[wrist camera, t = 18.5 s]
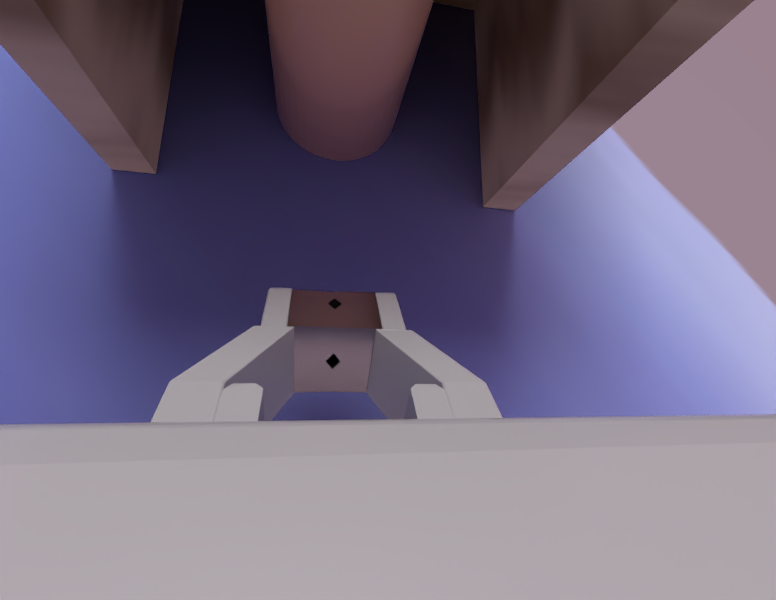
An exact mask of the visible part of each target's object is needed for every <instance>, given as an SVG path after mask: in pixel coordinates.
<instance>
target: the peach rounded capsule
mask: <svg viewBox="0 0 776 600" xmlns="http://www.w3.org/2000/svg"><path fill="white" fill-rule="evenodd" d="M433 1H434V0H265V6H266V15H267V24H268V33H269V42H270V50H271V59H272V68H273V77H274V86H275V94H276V103H277V110H278V115H279V118H280V121H281V123H282V125H283V127H284V129H285V131H286V132H287V134H288V135H289V136H290V137H291V138H292V139H293V141H295V142H296V143H297V144H298V145H299V146H300V147H302V148H303V149H305V150H306V151H308V152H310V153H312V154H314V155H316V156H319V157H322V158H326V159H330V160H336V161H349V160H356V159H360V158H363V157H366V156H368V155H370V154H372V153H374V152H375V151H377V150H378V149H379V148H380V147H381V146H383V145H384V143H385V142H386V141H387V140H388V138H389V136H390V134H391V132H392V130H393V127H394V124H395V121H396V117H397V114H398V111H399V108H400V105H401V102H402V99H403V95H404V92H405V89H406V86H407V83H408V80H409V76H410V73H411V70H412V67H413V64H414V61H415V58H416V54H417V51H418V48H419V45H420V42H421V39H422V35H423V32H424V29H425V26H426V23H427V20H428V17H429V13H430V10H431V7H432V4H433Z"/></svg>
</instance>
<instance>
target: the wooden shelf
mask: <svg viewBox="0 0 776 600" xmlns="http://www.w3.org/2000/svg"><path fill="white" fill-rule="evenodd" d="M753 1H754V0H434V1H433V2H434V3H439V4H444V5H450V6H455V7H460V8H465V9H470V10H474V22H475V43H476V64H477V86H478V107H479V129H480V150H481V171H482V193H483V207H487V208H496V209H506V210H516V209H517V208H519V207H520V206H521V205H522V204H523V203H524V202H525V201H527V200H528V199H529V198H530V197H531V196H532V195H533V194H534V193H536V192H537V191H538V190H539V189H540V188H541V187H542V186H544V185H545V184H546V183H547V182H548V181H549V180H550V179H552V178H553V177H554V176H555V175H556V174H557V173H558V172H559V171H561V170H562V169H563V168H564V167H565V166H566V165H567V164H569V163H570V162H571V161H572V160H573V159H574V158H575V157H577V156H578V155H579V154H580V153H581V152H582V151H583V150H584V149H586V148H587V147H588V146H589V145H590V144H591V143H592V142H594V141H595V140H596V139H597V138H598V137H599V136H600V135H602V134H603V133H604V132H605V131H606V130H607V129H608V128H609V127H611V126H612V125H613V124H614V123H615V122H616V121H617V120H618V119H620V118H621V117H622V116H623V115H624V114H625V113H626V112H628V111H629V110H630V109H631V108H632V107H633V106H634V105H636V104H637V103H638V102H639V101H640V100H641V99H642V98H643V97H645V96H646V95H647V94H648V93H649V92H650V91H651V90H653V89H654V88H655V87H656V86H657V85H658V84H659V83H661V82H662V81H663V80H664V79H665V78H666V77H667V76H669V74H671V73H672V72H673V71H674V70H675V69H677V68H678V67H679V66H680V65H681V64H682V63H683V62H684V61H686V60H687V59H688V58H689V57H690V56H691V55H692V54H694V53H695V52H696V51H697V50H698V49H699V48H700V47H702V46H703V45H704V44H705V43H706V42H707V41H708V40H709V39H711V38H712V37H713V36H714V35H715V34H716V33H717V32H718V31H720V30H721V29H722V28H723V27H724V26H725V25H727V24H728V23H729V22H730V21H731V20H732V19H733V18H734V17H735V16H737V15H738V14H739V13H740V12H741V11H742V10H744V9H745V8H746V7H747V6H748V5H749V4H750V3H752V2H753ZM182 6H183V0H0V45H1V46H2V47H3V48H4V49H5V50H6V51H7V52H8V54H9V55H10V56H11V57H12V58H13V59H14V60H15V61H16V63H17V64H18V65H19V66H20V67H21V68H22V69H23V70H24V72H25V73H26V74H27V75H28V76H29V77H30V78H31V79H32V81H33V82H34V83H35V84H36V85H37V86H38V87H39V88H40V90H41V91H42V92H43V93H44V94H45V95H46V96H47V97H48V99H49V100H50V101H51V102H52V103H53V104H54V105H55V106H56V108H57V109H58V110H59V111H60V112H61V113H62V114H63V115H64V117H65V118H66V119H67V120H68V121H69V122H70V123H71V124H72V126H73V127H74V128H75V129H76V130H77V131H78V132H79V133H80V135H81V136H82V137H83V138H84V139H85V140H86V141H87V142H88V144H89V145H90V146H91V147H92V148H93V149H94V150H95V151H96V153H97V154H98V155H99V156H100V157H101V158H102V159H103V160H104V162H105V163H106V164H107V165H108V166H109V167H110V168H111V169H112V170H122V171H132V172H142V173H152V174H156V171H157V165H158V158H159V152H160V146H161V139H162V133H163V127H164V120H165V114H166V107H167V101H168V95H169V88H170V82H171V76H172V69H173V63H174V57H175V50H176V44H177V37H178V31H179V25H180V18H181V12H182Z"/></svg>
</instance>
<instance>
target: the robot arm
mask: <svg viewBox="0 0 776 600" xmlns="http://www.w3.org/2000/svg"><path fill="white" fill-rule="evenodd" d="M329 391H331V392H367V395H368V396H369V397H370V399H371V400H372V401H373V402H374V403H375V405H376V406H377V407H378V408H379V409H380V411H381V412H382V413H383V414H384V416H385V417H386V418H387V419H377V420H299V421H272V419H273V418H274V417H275V416H276V415H277V413H278V412H279V411H280V410H281V409H282V407H283V406H284V405H285V404H286V403H287V401H288V400H289V399H290V398H291V397H292V395H293V392H329ZM0 600H776V414H761V415H685V416H607V417H528V418H502V415H501V413H500V411H499V409H498V407H497V405H496V403H495V401H494V399H493V397H492V394H491V392H490V390H489V388H488V386H487V384H486V383H485V382H484V381H482V380H481V379H480V378H478V377H477V376H475V375H474V374H473V373H471V372H470V371H468V370H467V369H466V368H464V367H463V366H461V365H460V364H459V363H457V362H456V361H454V360H453V359H452V358H450V357H449V356H447V355H446V354H445V353H443V352H442V351H440V350H439V349H438V348H436V347H435V346H433V345H432V344H431V343H429V342H428V341H426V340H425V339H424V338H422V337H421V336H419V335H418V334H417V333H415V332H414V331H412V330H406V327H405V324H404V320H403V317H402V314H401V310H400V307H399V303H398V300H397V297H396V294H395V293H375V292H335V291H325V290H309V289H294V288H293V289H291V288H274V287H271V288H270V289H269V290H268V295H267V299H266V303H265V308H264V312H263V316H262V321H261V325H260V326H253V327H251V328H250V329H248V330H247V331H245V332H244V333H242V334H241V335H239V336H238V337H236V338H234V339H233V340H231V341H230V342H228V343H227V344H225V345H224V346H222V347H221V348H219V349H218V350H216V351H215V352H213V353H212V354H210V355H209V356H207V357H206V358H204V359H203V360H201V361H200V362H198V363H197V364H195V365H194V366H192V367H191V368H189V369H187V370H186V371H184V372H183V373H181V374H180V375H178V376H177V377H175V378H174V379H172V380H171V381H170V382H169V384H168V386H167V388H166V390H165V392H164V394H163V396H162V399H161V401H160V403H159V405H158V407H157V409H156V411H155V414H154V416H153V418H152V420H151V422H144V423H66V424H0Z"/></svg>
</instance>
